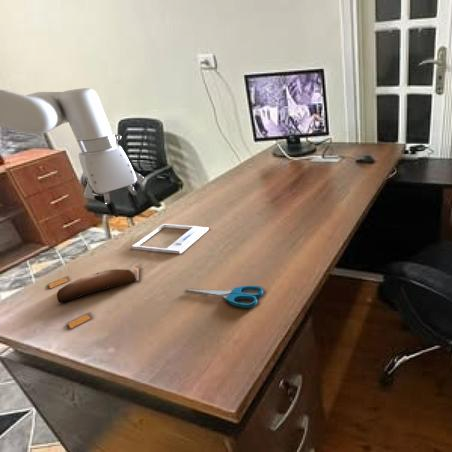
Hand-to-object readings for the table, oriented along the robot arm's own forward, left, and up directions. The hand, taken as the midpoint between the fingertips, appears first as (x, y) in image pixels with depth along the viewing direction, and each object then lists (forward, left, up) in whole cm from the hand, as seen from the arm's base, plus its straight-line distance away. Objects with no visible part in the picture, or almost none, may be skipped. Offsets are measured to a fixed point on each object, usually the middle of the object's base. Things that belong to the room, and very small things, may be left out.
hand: (125, 211), depth 92 cm
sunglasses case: (-12, 0, -18) cm, 21 cm away
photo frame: (+11, +9, -17) cm, 22 cm away
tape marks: (-20, 0, -17) cm, 26 cm away
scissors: (+7, -30, -17) cm, 35 cm away
